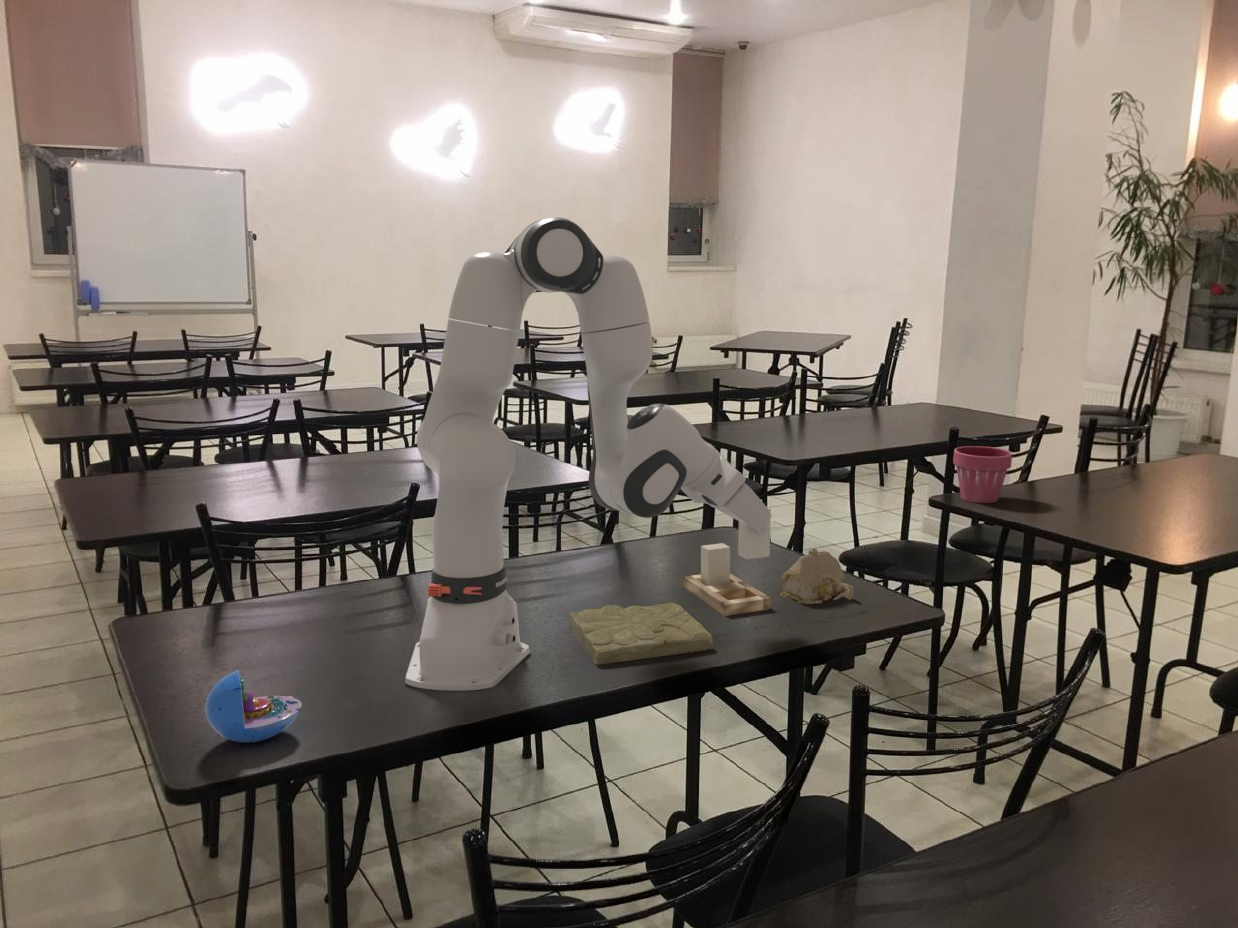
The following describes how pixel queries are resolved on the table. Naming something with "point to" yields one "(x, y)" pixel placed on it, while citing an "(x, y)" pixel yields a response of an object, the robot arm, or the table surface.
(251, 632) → the table surface
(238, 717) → the cell model
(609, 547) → the table surface
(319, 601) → the table surface
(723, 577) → the white upright prism
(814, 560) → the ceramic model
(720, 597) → the rack
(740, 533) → the white rectangular block
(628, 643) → the decorative tile
